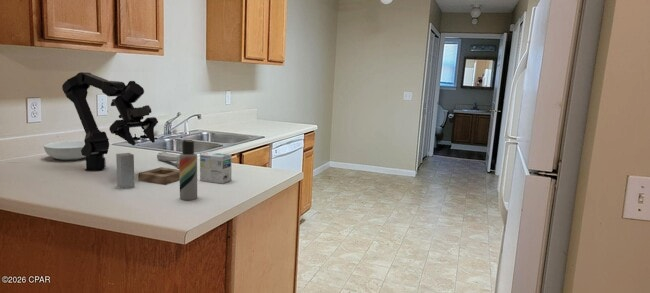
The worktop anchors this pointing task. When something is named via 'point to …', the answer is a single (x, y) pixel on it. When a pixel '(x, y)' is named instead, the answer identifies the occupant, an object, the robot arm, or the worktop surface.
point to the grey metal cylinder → (168, 157)
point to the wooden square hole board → (160, 175)
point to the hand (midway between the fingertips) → (144, 143)
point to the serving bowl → (65, 150)
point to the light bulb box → (215, 167)
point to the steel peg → (125, 170)
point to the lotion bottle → (188, 171)
